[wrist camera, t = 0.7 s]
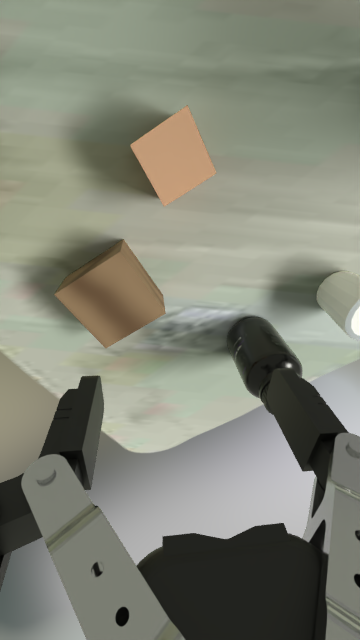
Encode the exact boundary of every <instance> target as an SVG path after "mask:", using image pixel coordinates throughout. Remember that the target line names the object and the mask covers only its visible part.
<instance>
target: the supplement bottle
mask: <svg viewBox="0 0 360 640" xmlns="http://www.w3.org/2000/svg"><path fill="white" fill-rule="evenodd" d="M227 346H228V349H229V351H230V354H231V356H232V358H233V360H234V362H235V365H236V367H237V369H238V371H239V373H240V376H241V378H242V380H243V382H244V384H245V386H246V388H247V390H248V391H249V392H250V393H251V394H252V395H254V396H256V397H258V398H260V399H261V401H262V402H263V403H264V406H265V407H266V409H267V410H268V411H269V413H271V414H273V412H272V410H271V408H270V407H269V404H268V400H267V392H268V388H269V384H270V381H271V377H272V374H273V371H274V369H282V368H292V369H293V370H294V371H295V373H296V374H297V375H298V377H299V378H300V379H302V365H301V363H300V361H299V359H298V358H297V357H296V355H295V354H294V353H293V351H292V350H291V349H290V347H289V346H288V345H287V344H286V342H285V341H284V340H283V339H282V337H281V336H280V335H279V333H278V332H277V331H276V330H275V328H274V327H273V326H272V325H271V323H270V322H268V321H267V320H265V319H263V318H260V317H250V318H246V319H243V320H241V321H239V322H238V323H236V324H235V325H234V326H233V327H232V328H231V330H230V332H229V334H228V336H227ZM273 415H274V414H273Z"/></svg>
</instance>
